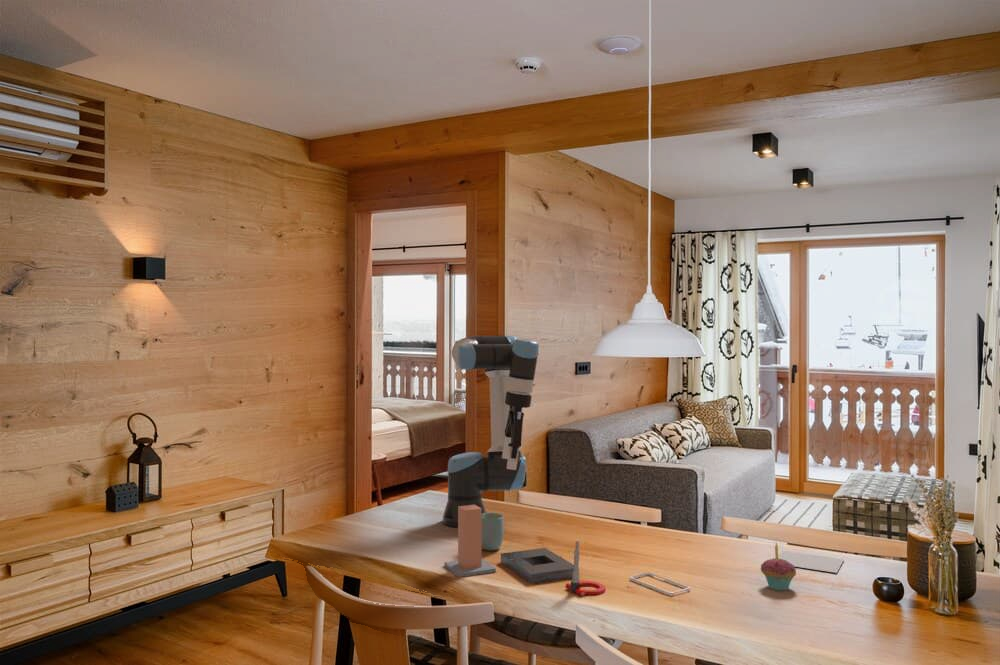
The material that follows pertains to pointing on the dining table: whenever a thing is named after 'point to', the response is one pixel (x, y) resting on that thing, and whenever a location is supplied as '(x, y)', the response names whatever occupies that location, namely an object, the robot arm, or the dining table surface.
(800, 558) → the paper stack
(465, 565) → the peg
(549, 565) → the socket block
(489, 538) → the cup
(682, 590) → the phone case
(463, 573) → the pad
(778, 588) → the cupcake
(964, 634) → the dining table surface
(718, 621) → the dining table surface
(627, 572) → the dining table surface
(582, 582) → the tow hook
